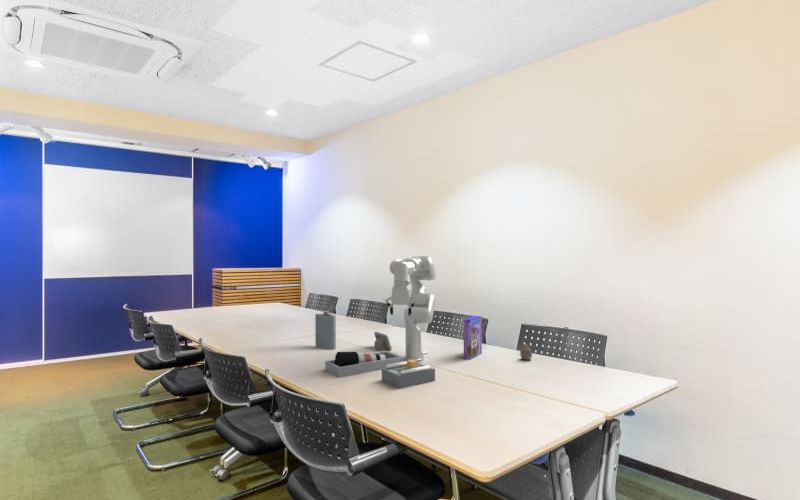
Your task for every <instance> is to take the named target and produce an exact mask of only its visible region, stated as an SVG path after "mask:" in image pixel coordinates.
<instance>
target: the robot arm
mask: <svg viewBox="0 0 800 500" xmlns="http://www.w3.org/2000/svg"><path fill="white" fill-rule="evenodd" d="M389 271H390V273H391V274H392V275H393V285H392V290H391V296H390V297H388V298H386V299H385V300H384V301H385V303H386V305H387V306H388V307H389V314H390V315H391V316H393V315H394V307H393V306H394V305H397V306H398V305H401V306H402V305H406V306H408V307H407V308H405V309H404V310H403V318H404V323H405V324H404V325H405V355H404V356H402V357H403V361H407V360H416V361H418V362H422V361H423V360H424V359H425V357H424V356H425V355H428V354H429V353H428V351H427V350H425V351H422V330H421V327H420V325H419V324H425V325H427V324H430V323H432V321H433V318H434V313H435V305H436V297H435V295H434V293H429V292H426V286H424V284H423V283H422V282H421V281H434V280H435V279H436V277H437V270H436V267H435V263H434V261H433V259H432V258H431V257H430V256H427V255H424V256H422V255H420V256H419V255H415V256H412V257H407V258H401V259H395V260H392V261H391V262H390V264H389ZM408 276H409V277H408ZM409 285H411V289H410V286H409ZM389 301H391V303H390V302H389Z"/></svg>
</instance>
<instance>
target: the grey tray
mask: <svg viewBox="0 0 800 500" xmlns="http://www.w3.org/2000/svg"><path fill="white" fill-rule="evenodd" d="M373 354H379V355H381V354H384V355H385V357H386V358H390V359H384V360H378V361H372V362H366V363H360V364H354V365H348V366H343V367H339V366H337V365H335V359H330V360H325V361H324V370H325V371H326V372H328V373H329V374H331V375H333V376H335V377H337V378H343V377H348V376H354V375H360V373H361V374H365V372H366V373H370V372H371V373H372V372H375V371H382V369H384V368H386V366H387V365H389V364H394V363H400V362H404V359H403V357H404V356H402V355H399V354H396V353H393V352H390V351H389V350H385V351H382V352H381V351H380V352H375V353H373Z"/></svg>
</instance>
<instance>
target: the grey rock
mask: <svg viewBox="0 0 800 500" xmlns="http://www.w3.org/2000/svg"><path fill="white" fill-rule="evenodd" d="M373 334H374V337H375V341H374V349H375V350H379V351H380V352H381V351H382V352H383V351H391V350H393V349H392V344H391V342H390V339H389V336H388V334H384V333H381V332H380V331H374V333H373Z"/></svg>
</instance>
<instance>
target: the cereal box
mask: <svg viewBox="0 0 800 500" xmlns="http://www.w3.org/2000/svg"><path fill="white" fill-rule="evenodd" d="M482 321H483V320H482V316H481V315H474V316H471V317H467V318H465V319H463V360H472V359H475V358H476V357H478V356H480V355H482V353H483V349H482V348H483V346H482V345H483V344H482V343H483V341H482V339H483V337H482V335H483V333H482V332H483V330H482V328H483V327H482V326H483V325H482V323H483V322H482Z"/></svg>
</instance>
